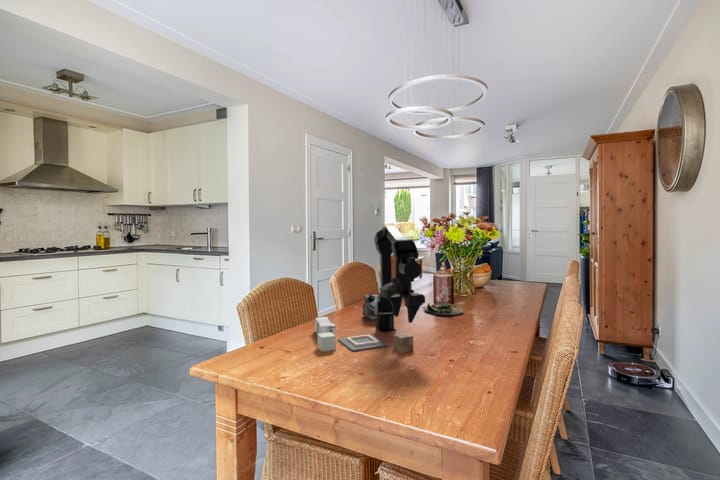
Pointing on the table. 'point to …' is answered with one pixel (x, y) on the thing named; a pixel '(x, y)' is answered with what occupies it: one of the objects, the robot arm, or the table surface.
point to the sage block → (326, 341)
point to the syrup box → (324, 325)
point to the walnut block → (403, 342)
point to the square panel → (362, 342)
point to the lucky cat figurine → (369, 307)
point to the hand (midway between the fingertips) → (403, 319)
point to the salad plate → (442, 310)
